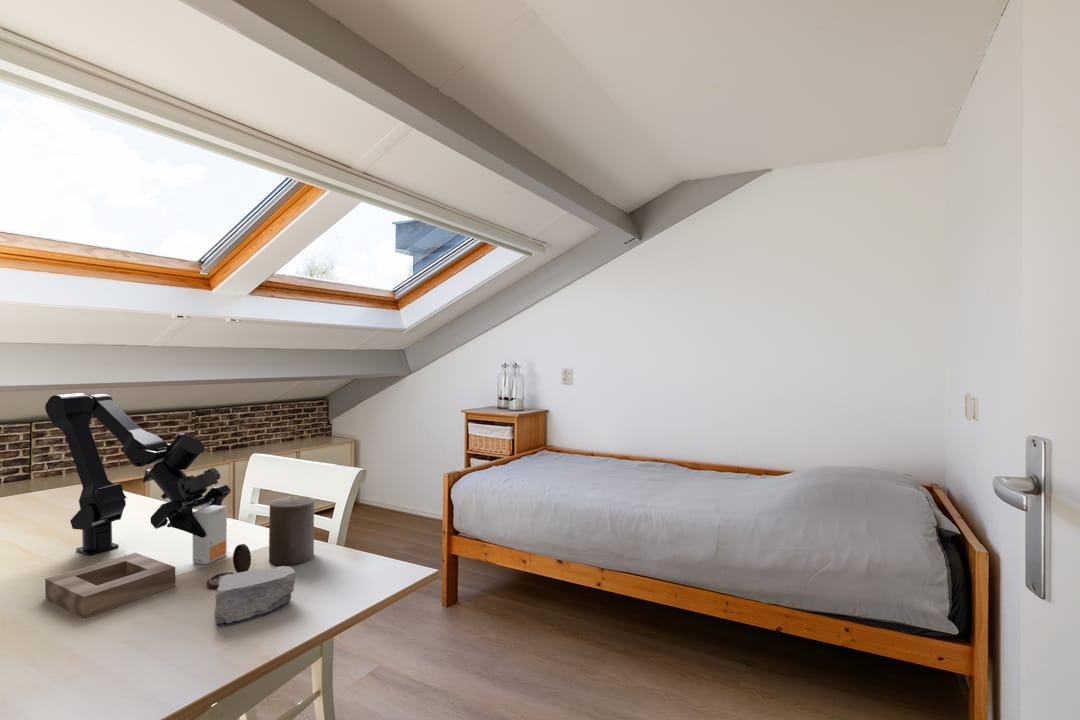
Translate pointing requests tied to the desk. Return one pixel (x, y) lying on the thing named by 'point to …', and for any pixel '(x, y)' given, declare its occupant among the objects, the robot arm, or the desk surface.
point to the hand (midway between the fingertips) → (215, 531)
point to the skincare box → (210, 534)
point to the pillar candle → (291, 530)
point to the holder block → (109, 584)
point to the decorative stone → (252, 594)
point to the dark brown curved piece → (240, 564)
